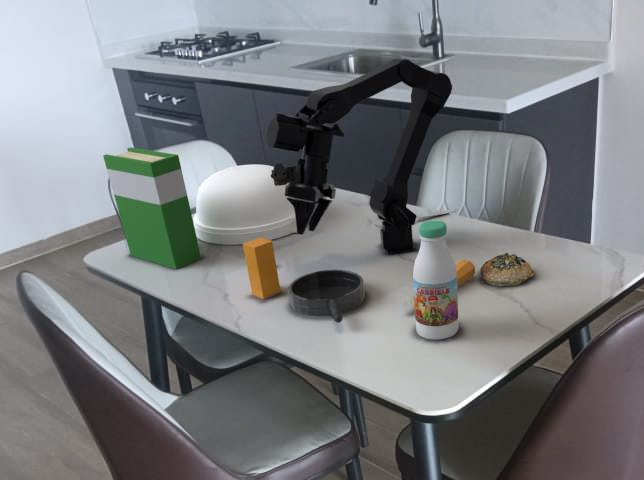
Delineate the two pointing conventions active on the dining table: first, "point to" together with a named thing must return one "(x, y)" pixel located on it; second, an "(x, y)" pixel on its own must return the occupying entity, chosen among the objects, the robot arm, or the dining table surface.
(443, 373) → the dining table surface
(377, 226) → the fork
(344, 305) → the pan
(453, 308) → the milk bottle
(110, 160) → the hardback book
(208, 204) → the dome cover
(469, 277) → the carrot
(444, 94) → the robot arm
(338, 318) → the pan handle
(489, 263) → the bread roll
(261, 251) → the cheese
